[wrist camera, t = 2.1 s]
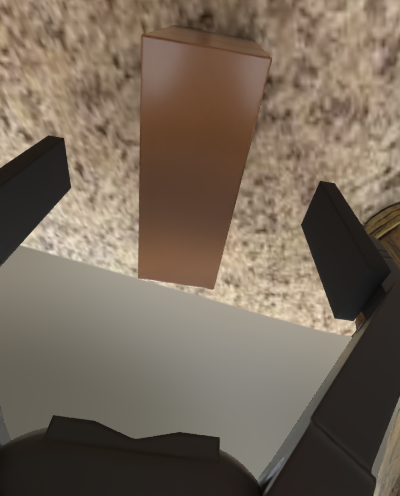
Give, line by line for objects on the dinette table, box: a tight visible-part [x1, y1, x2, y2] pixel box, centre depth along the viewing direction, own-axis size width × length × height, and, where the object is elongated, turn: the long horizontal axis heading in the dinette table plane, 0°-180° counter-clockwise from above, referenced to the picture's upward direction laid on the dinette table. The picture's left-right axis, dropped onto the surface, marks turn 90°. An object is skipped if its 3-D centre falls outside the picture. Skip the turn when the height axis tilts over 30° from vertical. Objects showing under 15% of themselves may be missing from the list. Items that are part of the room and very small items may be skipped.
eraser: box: [138, 25, 272, 290], centre depth 17 cm, size 12×5×8 cm, turn 172°
